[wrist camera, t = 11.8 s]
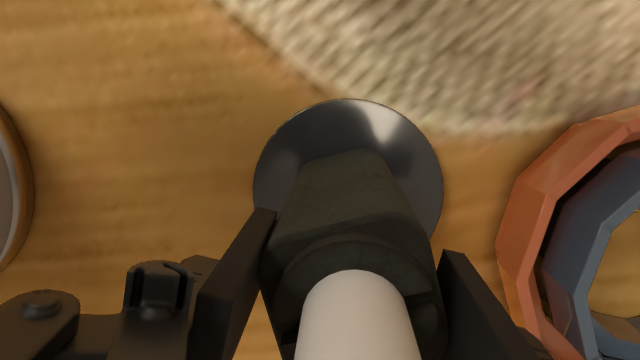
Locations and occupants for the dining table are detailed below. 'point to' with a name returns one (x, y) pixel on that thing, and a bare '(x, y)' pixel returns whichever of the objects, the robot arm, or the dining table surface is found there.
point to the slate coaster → (345, 135)
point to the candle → (351, 267)
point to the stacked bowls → (572, 237)
